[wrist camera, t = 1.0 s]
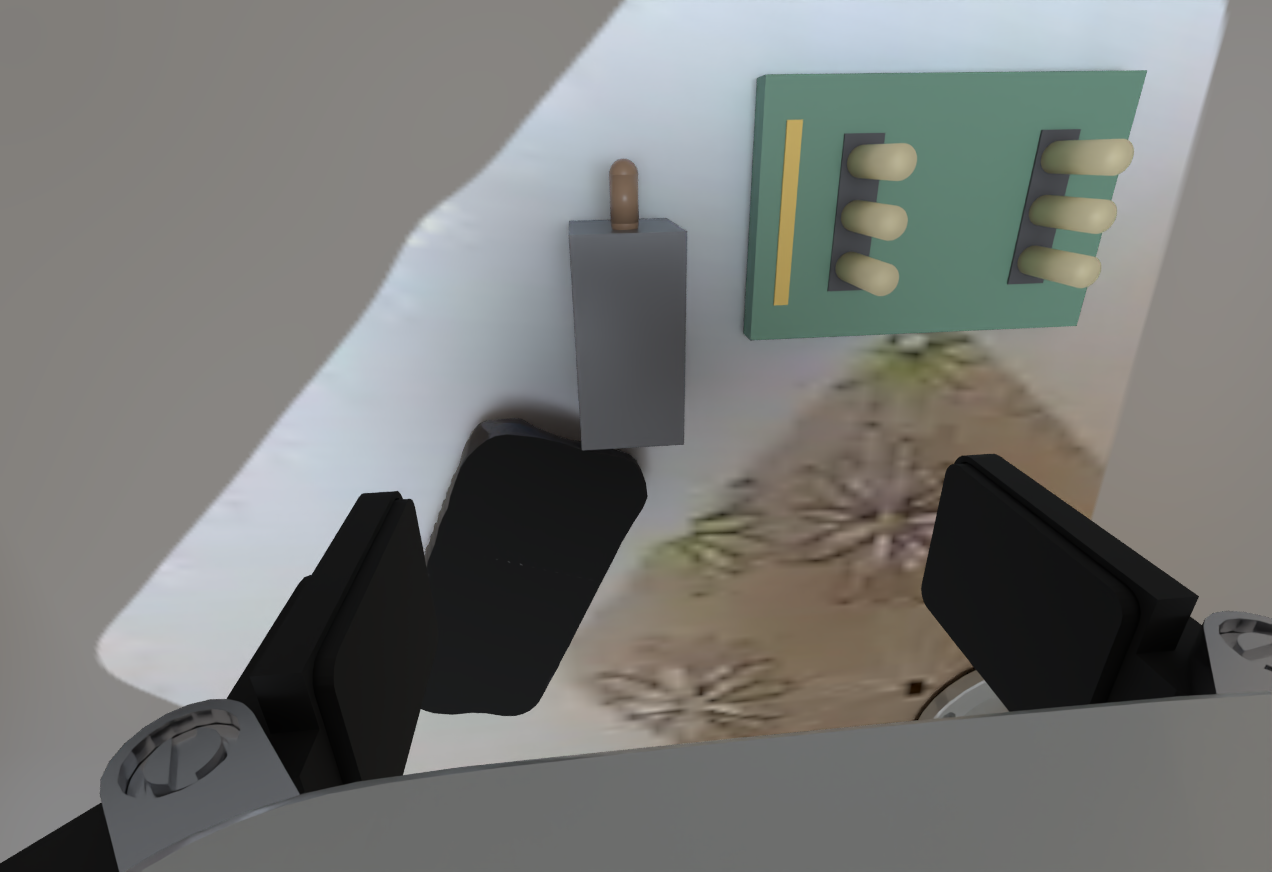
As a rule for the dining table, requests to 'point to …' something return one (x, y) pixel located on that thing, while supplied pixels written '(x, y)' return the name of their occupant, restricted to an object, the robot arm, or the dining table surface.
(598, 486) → the black sponge
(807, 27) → the dining table surface
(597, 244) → the plug housing
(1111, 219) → the header board
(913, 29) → the dining table surface
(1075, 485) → the dining table surface
